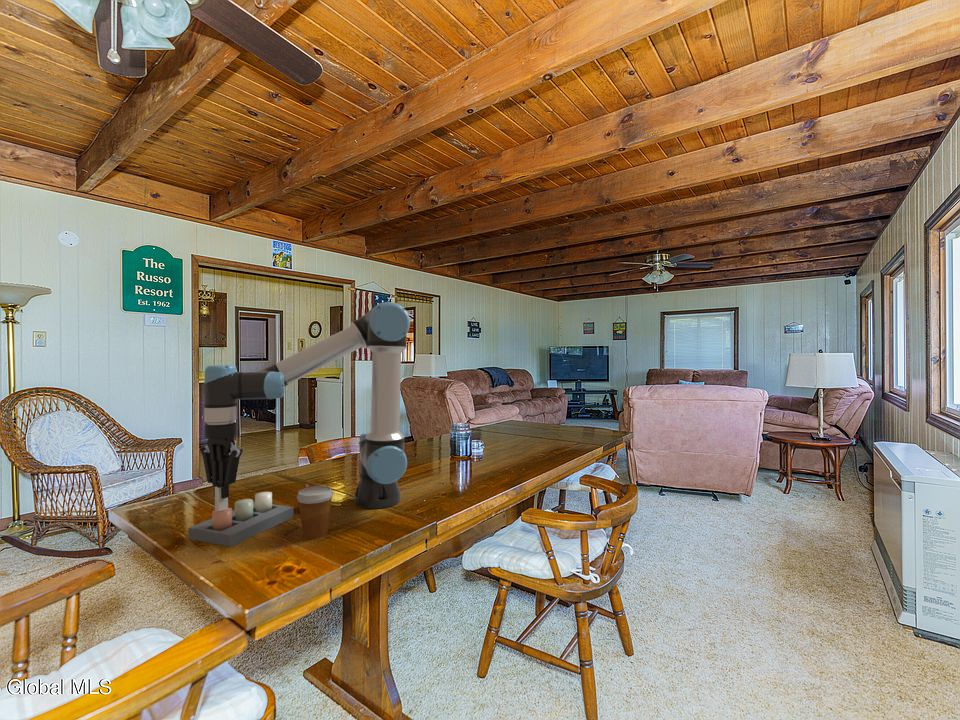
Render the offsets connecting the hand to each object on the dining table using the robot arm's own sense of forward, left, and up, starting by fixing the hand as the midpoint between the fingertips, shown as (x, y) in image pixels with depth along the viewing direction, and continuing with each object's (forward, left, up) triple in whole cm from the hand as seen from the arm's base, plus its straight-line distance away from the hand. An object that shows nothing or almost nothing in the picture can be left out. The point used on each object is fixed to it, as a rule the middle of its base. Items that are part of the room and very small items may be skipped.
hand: (221, 509), depth 121 cm
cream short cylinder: (0, -14, -5) cm, 15 cm away
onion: (-7, -25, -8) cm, 27 cm away
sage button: (0, -7, -5) cm, 9 cm away
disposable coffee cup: (-23, -10, -8) cm, 26 cm away
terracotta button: (0, 0, -5) cm, 5 cm away
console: (0, -7, -7) cm, 10 cm away
